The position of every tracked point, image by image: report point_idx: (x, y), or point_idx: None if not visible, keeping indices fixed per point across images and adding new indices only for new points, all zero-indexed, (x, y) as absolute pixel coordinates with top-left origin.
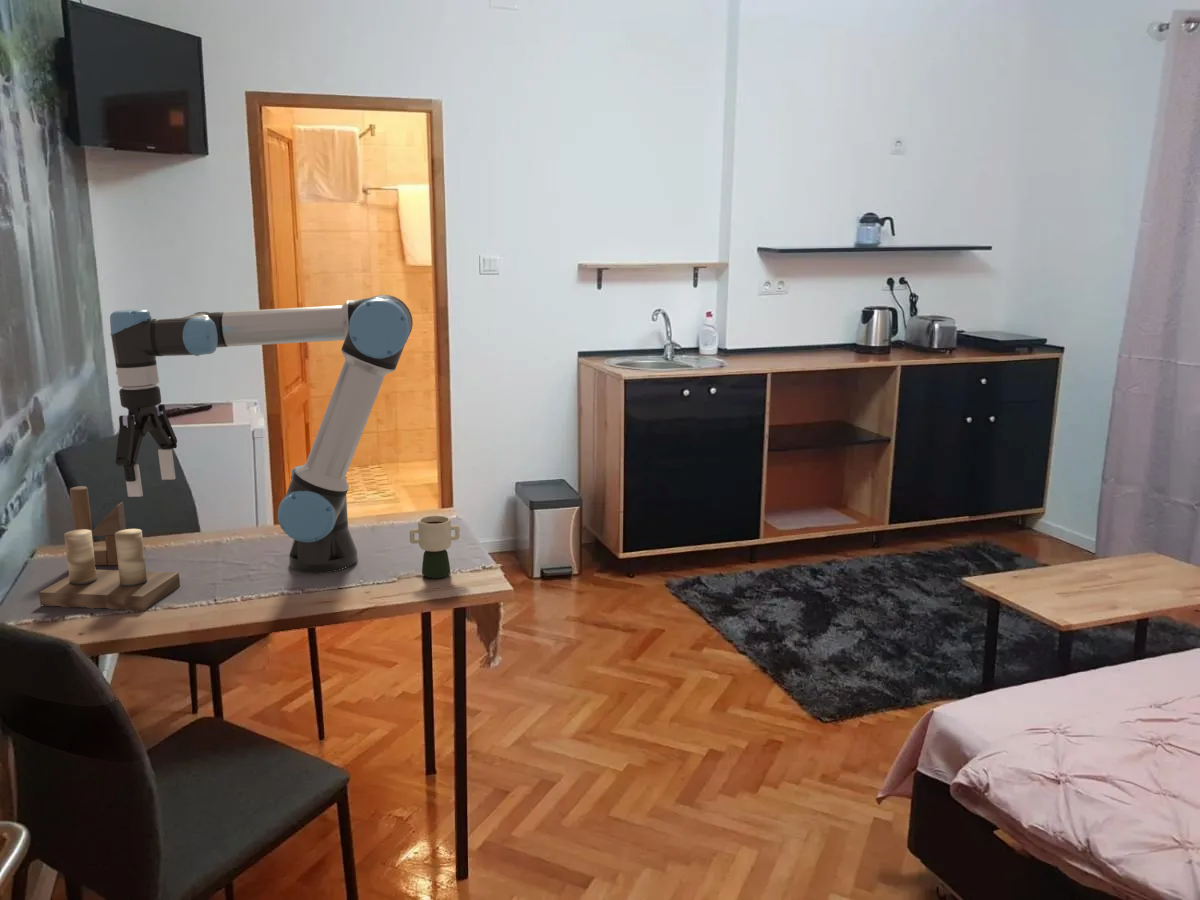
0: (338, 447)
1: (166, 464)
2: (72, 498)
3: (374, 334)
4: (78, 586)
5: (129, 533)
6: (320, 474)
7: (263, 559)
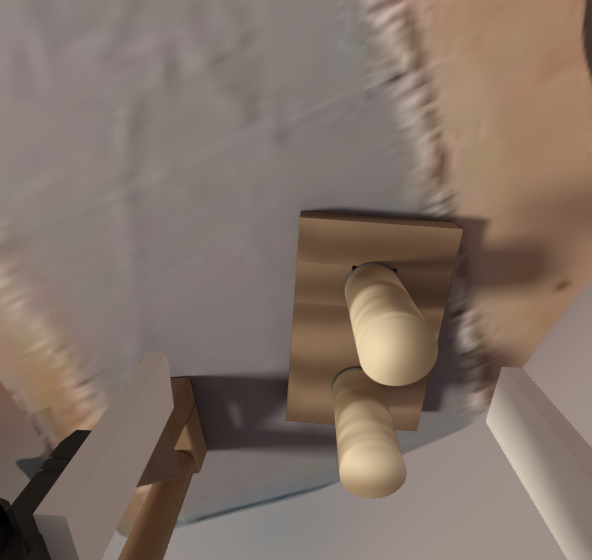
0: None
1: (133, 444)
2: None
3: None
4: None
5: (409, 345)
6: None
7: (88, 73)
